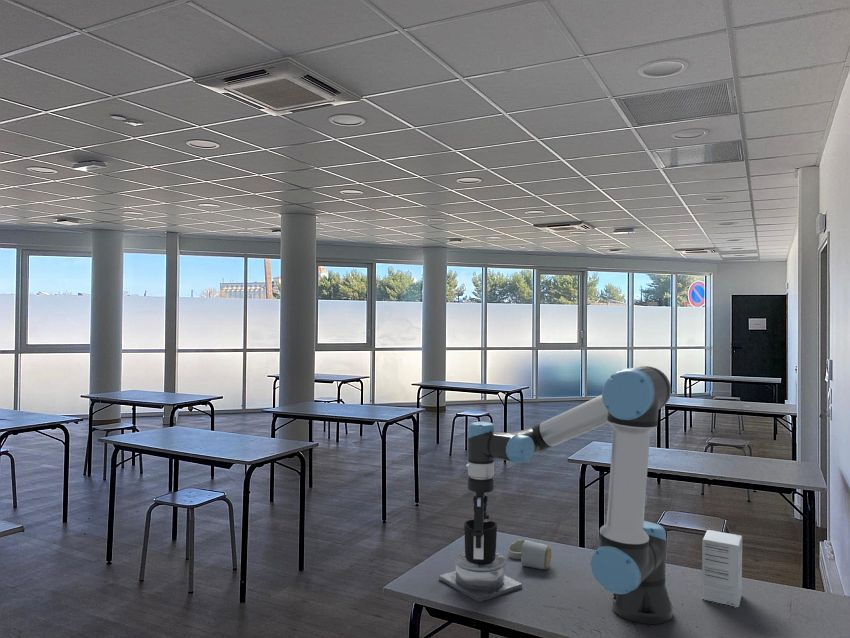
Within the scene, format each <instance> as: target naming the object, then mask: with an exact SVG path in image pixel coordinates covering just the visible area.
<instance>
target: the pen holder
mask: <svg viewBox="0 0 850 638" xmlns="http://www.w3.org/2000/svg"><path fill="white" fill-rule="evenodd" d="M463 525H464V527H463V530H464V551H465V557H466V559H467V560H468V561H469V562H472V563H475V564H488V563H491V562H493V561H494V560H495V556H496V552H497V533H498V532H497V531H498V524H497V523H496V522H495V521H493V520H490V521H489V520H488V521H487V522H484V523H483V535H484V554H483V560H482V559H474V536H471V533H473V532H474V519H469V520H465V521H464V523H463ZM477 532H481V531H477Z"/></svg>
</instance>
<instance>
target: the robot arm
mask: <svg viewBox="0 0 850 638" xmlns="http://www.w3.org/2000/svg"><path fill="white" fill-rule="evenodd" d="M671 395H672V386H671V381H670V380H669V378H668V377H667V375H666V374H665V373H664V372H663V371H662V370H660V369H658V368H657V367H654V366H649V365H648V366H647V365H646V366H645V365H644V366H638V367H637V366H636V367H626V368H622V369H619V370H618V371H617V372H614V373H612V374H611V375H610V376H609V377H608V378H607V379H606V381H605V382H604V384H603V387H602V392H601V394H600V395H598V396H597V397H594V398H591V399H590V400H588V401H585V402H583V403H581V404H579V405H577V406H575V407H572V408H570V409H568V410H566V411H564V412H562V413H560V414H557V415H555V416H553V417H551V418H549V419H546V420H545V421H541V422H540V423H538V424H536V425H535V424H534V425H533V426H530V427H528V428H525V429H522V430H518V431H515V432H501V431H496V429H495V425H494V423H493V422H489V421H476V422H475V421H474V422H471V423H470V424H469V425H468V432H467V453H468V455H467V456H468V457H467V463H466V465H465V467H466V468H467V475H468V477H467V490H469V492H472V493H475V494H473V499H472V501H473V502H472V503H473V513H474V514H473V520H474V532H473V533H471V536H474V559H482V560H483V554H484V535H483V523H484V522H488V521H487V520H489V519H490V515H489V514H488V509H487V508H488V499H489V498H488V497H489V495H487V494H488V493H491V492H493V490H494V489H495V483H494V482H495V479H494V476H495V459H497V460H502V461H507V462H512V463H517V464H518V463H519V464H520V463H522V464H527V463H529V462H530V461H531V460H532V459H533V457H534V455H535V454H541V453H543V452H545V451H547V450H549V449H551V448H552V447H554V446H557V445H559V444H562V443H564V442H567V441H569V440H571V439H573V438H576V437H579V436H581V435H584V434H586V433H588V432H590V431H593V430H595V429H597V428H600V427H603V426H604V425H607V424H609V425H610V427H611V428H612V442H611V443H612V444H611V453H610V454H611V456H610V470H609V471H610V472H609V473H610V474H609V481H608V483H609V485H608V498H607V510H606V511H607V513H606V523H605V524H604V525H602V526H601V527H600V528H599V533H598V534H599V535H598V537H599V538H598V547H597V548H596V549H595V550H594V551H593V554H592V555H591V557H590V569H591V573H592V575H593V577H594V578H595V580H596V581H597V582H598V584H599V585H600V586H601V587H602V588H604V589H605V590H607V591H608V592H610V593H612V597H611V608H612V611H613V612H614V613H616V615H618V616H620V617H621V618H623V619H625V620H628V621H631V622H635V623H640V624H643V625H647V624H648V625H659V624H664V623H668V622H669V621H671V619H672V618H673V612H674V611H673V610H674V609H673V605H672V602H671V601H672V600H671V597H670V594H669V592H668V587H667V585H666V580H667V579H666V578H667V577H666V574H667V571H666V570H667V567H666V566H667V564H666V563H667V540H668V539H667V536H666V535H667V534H666V529H665V528H664V527H663V526H662V525H660V524H658V523H655V522H651V521H646V520H645V509H646V494H647V481H648V480H647V479H648V466H649V453H650V452H649V451H650V440H651V439H650V438H651V433H652V432H653V431H654V430H655V429H657V427H658V423H659V422H658V421H659V420H658V419H659V410H661V409H663V408H664V407H665V405H667V403H668V402H669V400H670V399H671ZM477 531H481V532H477Z"/></svg>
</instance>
